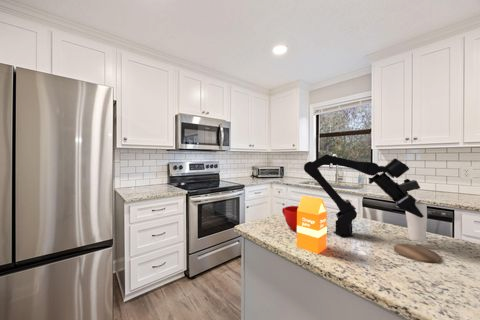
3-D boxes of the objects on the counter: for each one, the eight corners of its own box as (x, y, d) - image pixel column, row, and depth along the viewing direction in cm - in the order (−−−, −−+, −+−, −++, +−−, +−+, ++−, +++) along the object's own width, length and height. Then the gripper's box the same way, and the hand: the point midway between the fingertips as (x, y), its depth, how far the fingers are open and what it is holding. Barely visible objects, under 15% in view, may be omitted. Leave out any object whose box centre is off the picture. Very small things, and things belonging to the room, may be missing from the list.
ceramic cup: (291, 221, 114) (291, 203, 114) (316, 230, 100) (317, 210, 100) (273, 225, 108) (273, 206, 108) (298, 235, 93) (298, 214, 93)
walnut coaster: (420, 264, 69) (420, 261, 69) (385, 247, 81) (385, 245, 81) (450, 260, 71) (450, 257, 71) (411, 244, 84) (411, 242, 84)
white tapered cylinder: (433, 243, 80) (431, 204, 80) (414, 242, 80) (412, 204, 81) (420, 237, 86) (418, 201, 87) (402, 237, 87) (401, 201, 88)
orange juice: (305, 241, 87) (306, 194, 87) (326, 247, 81) (327, 197, 81) (296, 246, 82) (296, 196, 82) (317, 254, 76) (318, 200, 75)
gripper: (409, 174, 77) (448, 207, 72) (401, 171, 93) (433, 199, 88) (383, 192, 82) (418, 225, 76) (380, 187, 98) (408, 214, 92)
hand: (420, 215), depth 83 cm, fingers closed on white tapered cylinder, 7 cm apart
